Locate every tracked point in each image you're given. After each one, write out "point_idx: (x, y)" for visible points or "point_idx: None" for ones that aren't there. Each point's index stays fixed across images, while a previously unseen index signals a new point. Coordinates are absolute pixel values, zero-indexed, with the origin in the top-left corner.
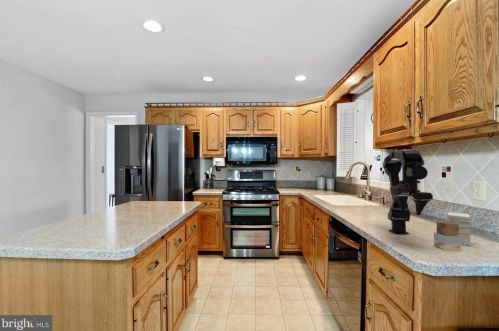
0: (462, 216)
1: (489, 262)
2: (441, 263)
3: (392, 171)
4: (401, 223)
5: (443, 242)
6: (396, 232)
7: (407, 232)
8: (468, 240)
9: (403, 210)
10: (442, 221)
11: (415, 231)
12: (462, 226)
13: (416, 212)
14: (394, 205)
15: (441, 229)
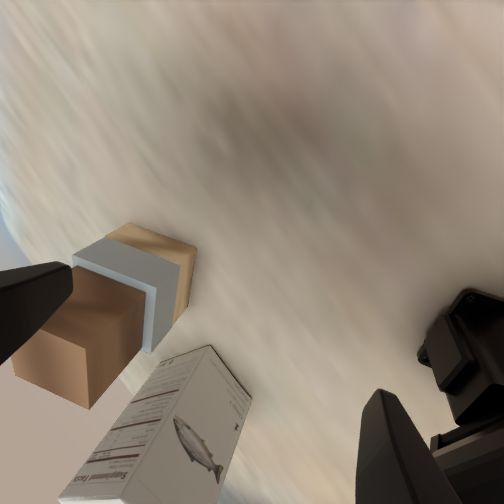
0: (75, 499)
1: (18, 232)
2: None
3: None
4: (472, 381)
5: (118, 244)
6: (480, 305)
7: (427, 361)
8: (149, 379)
9: (369, 408)
10: (75, 371)
11: (425, 428)
12: (120, 433)
13: (26, 274)
14: None
15: (85, 297)
